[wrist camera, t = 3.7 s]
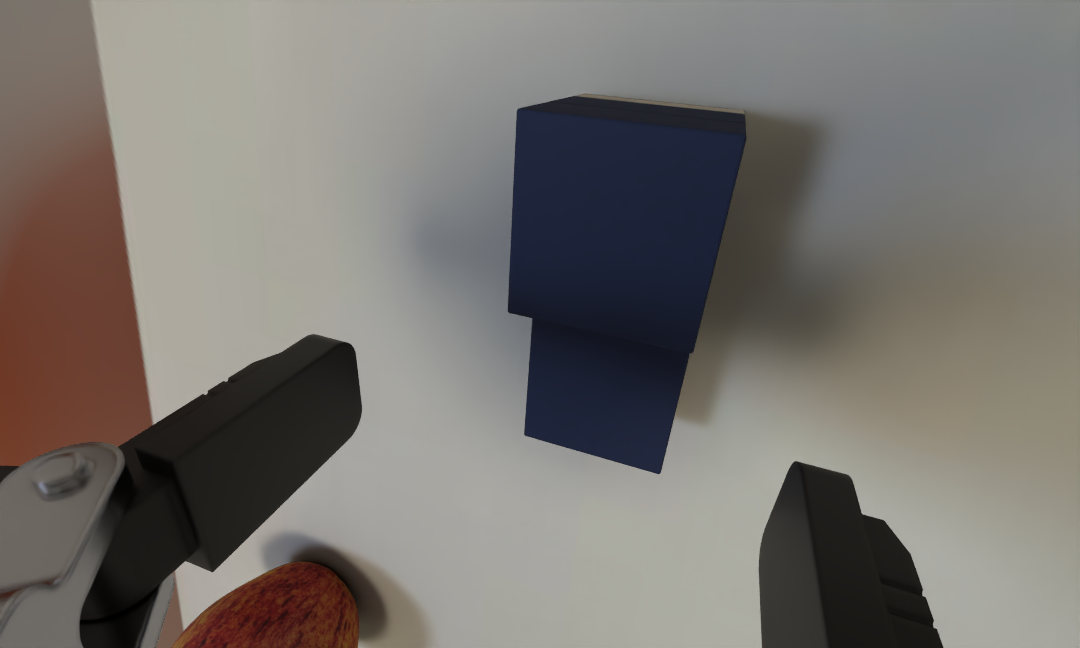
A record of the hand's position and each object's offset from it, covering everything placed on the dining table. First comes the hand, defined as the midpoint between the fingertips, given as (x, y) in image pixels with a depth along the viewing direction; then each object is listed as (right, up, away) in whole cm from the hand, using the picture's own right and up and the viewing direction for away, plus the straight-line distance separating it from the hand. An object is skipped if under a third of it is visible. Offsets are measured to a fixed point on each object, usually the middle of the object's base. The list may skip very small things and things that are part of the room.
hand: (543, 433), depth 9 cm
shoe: (+3, +4, +7) cm, 9 cm away
